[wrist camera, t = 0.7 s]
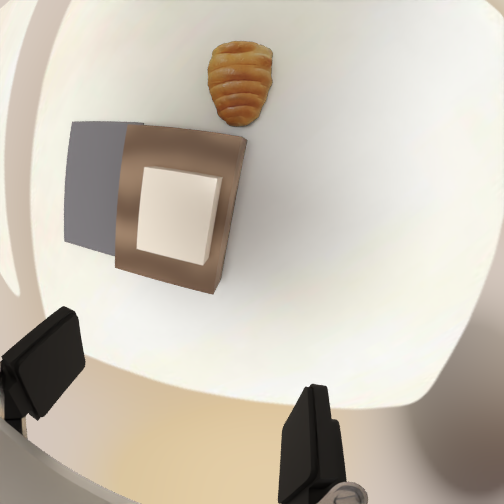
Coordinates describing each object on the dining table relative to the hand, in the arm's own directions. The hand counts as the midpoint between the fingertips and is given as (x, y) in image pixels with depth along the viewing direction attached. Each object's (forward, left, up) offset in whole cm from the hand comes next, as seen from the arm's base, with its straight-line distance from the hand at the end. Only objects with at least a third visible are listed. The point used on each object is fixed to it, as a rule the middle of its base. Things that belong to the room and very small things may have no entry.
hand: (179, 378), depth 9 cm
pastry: (-16, -4, -23) cm, 28 cm away
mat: (-2, -20, -22) cm, 30 cm away
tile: (-2, -7, -18) cm, 19 cm away
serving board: (-2, -8, -22) cm, 24 cm away
